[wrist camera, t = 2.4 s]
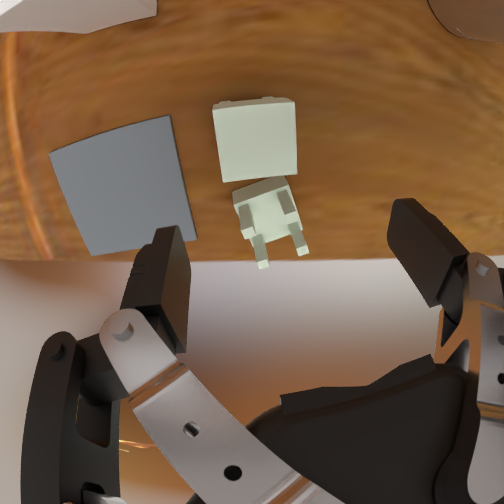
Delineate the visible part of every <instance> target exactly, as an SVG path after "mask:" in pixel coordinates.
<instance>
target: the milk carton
mask: <svg viewBox="0 0 504 504" xmlns="http://www.w3.org/2000/svg"><path fill="white" fill-rule="evenodd" d="M156 14H157V0H0V32H14V31H55V32H70V33H81V34H88V33H91V32H94V31H97V30H101V29H104V28H107V27H111V26H114V25H118V24H121V23H125V22H129V21H134V20H138V19H143V18H148V17H152V16H156Z"/></svg>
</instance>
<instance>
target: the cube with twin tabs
mask: <svg viewBox="0 0 504 504" xmlns="http://www.w3.org/2000/svg"><path fill="white" fill-rule="evenodd" d="M212 112H213V119H214V126H215V132H216V139H217V146H218V153H219V159H220V166H221V172H222V179H223V183H224V182H231V181H239V180H246V179H255V178H263V177H272V176H282V175H292V174H297V148H296V121H295V102H293V101H291V100H290V99H288V98H286V97H280V98H275V97H273V96H268V97H262V99H253V100H243V101H234V102H231V100H228V101H221V102H219V104H214V105H213V109H212Z"/></svg>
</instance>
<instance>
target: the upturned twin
mask: <svg viewBox="0 0 504 504" xmlns="http://www.w3.org/2000/svg"><path fill="white" fill-rule="evenodd" d="M232 196H233V206H234V208H235V210H236V212H237V214H238V216H239V219H240V227H241V232H242V234H243V236H244V238H245V239H248V238H249V239H250V241H251V244H252V246H253V247H254V251H255V257H256V263H257V265H258V267H259V269H260V270H261V269H264V268H267V267H269V266H270V263H269V259H268V254H267V250H266V246H265V243H267V242H270V241H273V240H276V239H279V238H281V237H284V236H287V235H290V234H291V236H292V239H293V241H294V244H295V247H296V250H297V252H298V255H299V256H302V255H305V254H307V253H309V251H308V247H307V244H306V242H305V239H304V237H303V235H302V232H301V230H303V228H302V225H301V221H300V218H299V215H298V212H297V209H296V206H295V202H294V199H293V196H292V193H291V190H290V187H289V184H288V182H287V180H286V179H285V177H284V175H282V176H273V177H270V178H267V179H265V180H262V181H259V182H256V183H254V184H251V185H248V186H246V187H243V188H240V189H238V190H235V191H232Z"/></svg>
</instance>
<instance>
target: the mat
mask: <svg viewBox="0 0 504 504" xmlns="http://www.w3.org/2000/svg"><path fill="white" fill-rule="evenodd" d="M49 156H50V159H51V162H52V165H53V168H54V171H55V173H56V176H57V179H58V182H59V184H60V187H61V189H62V192H63V194H64V197H65V199H66V202H67V204H68V207H69V209H70V211H71V214H72V216H73V218H74V220H75V223H76V225H77V227H78V229H79V231H80V234H81V236H82V238H83V240H84V242H85V244H86V246H87V248H88V250H89V252H90V254H91V256H95V255H101V254H107V253H113V252H120V251H126V250H132V249H139V248H142V247H143V246H144V245H145V244H152V241H153V238H154V235H155V231H156V229H157V228H162V227H168V226H174V225H178V226H179V228H180V231H181V234H182V237H183V241H184V242H185V241H192V240H197V234H196V230H195V226H194V222H193V217H192V213H191V209H190V205H189V201H188V196H187V192H186V188H185V183H184V179H183V174H182V170H181V165H180V161H179V156H178V151H177V146H176V141H175V136H174V131H173V126H172V121H171V116H170V115H166V116H161V117H157V118H153V119H149V120H145V121H141V122H137V123H133V124H130V125H126V126H123V127H119V128H116V129H113V130H109V131H106V132H103V133H100V134H97V135H94V136H91V137H88V138H85V139H83V140H80V141H77V142H75V143H72V144H69V145H67V146H64V147H62V148H59V149H57V150H54V151H52V152H50V153H49Z"/></svg>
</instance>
